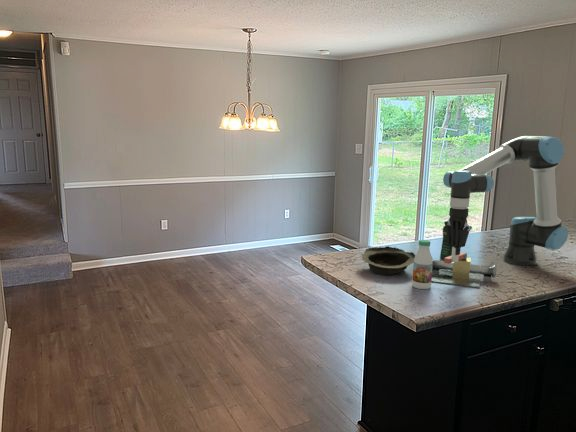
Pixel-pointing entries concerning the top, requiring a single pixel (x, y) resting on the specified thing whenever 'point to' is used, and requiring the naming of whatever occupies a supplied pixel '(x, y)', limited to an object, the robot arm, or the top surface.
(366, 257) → the stone bowl
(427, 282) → the milk bottle
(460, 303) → the top surface
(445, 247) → the coffee jar
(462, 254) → the lever
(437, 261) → the pipe run
